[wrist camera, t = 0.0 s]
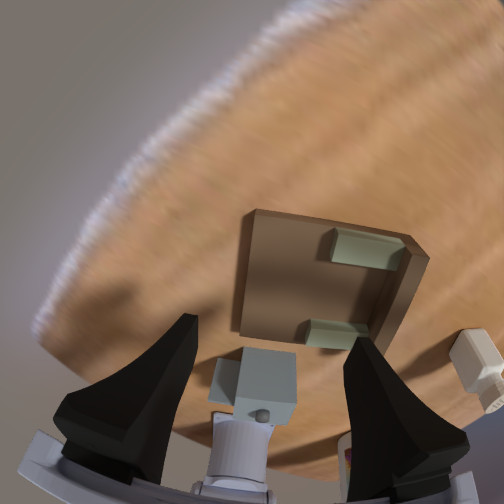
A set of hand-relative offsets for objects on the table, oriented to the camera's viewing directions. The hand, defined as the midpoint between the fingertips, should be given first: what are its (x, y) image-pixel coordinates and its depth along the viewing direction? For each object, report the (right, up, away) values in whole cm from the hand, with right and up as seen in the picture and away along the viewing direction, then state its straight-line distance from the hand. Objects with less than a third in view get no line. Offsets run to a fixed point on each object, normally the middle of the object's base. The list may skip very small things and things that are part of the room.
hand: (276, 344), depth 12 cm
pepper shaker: (+23, -6, +12) cm, 26 cm away
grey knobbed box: (-1, -7, +15) cm, 17 cm away
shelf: (+5, +1, +10) cm, 11 cm away
